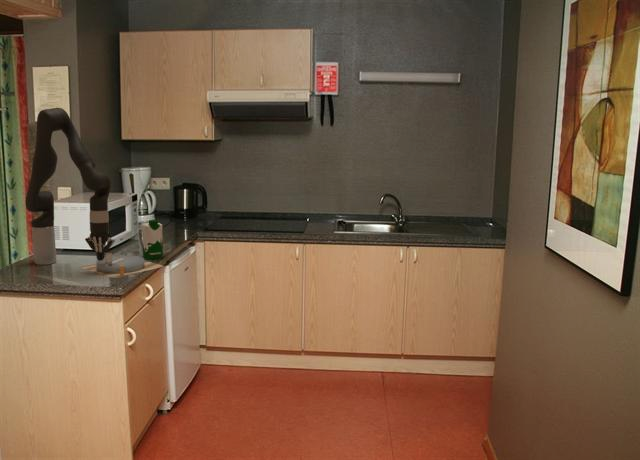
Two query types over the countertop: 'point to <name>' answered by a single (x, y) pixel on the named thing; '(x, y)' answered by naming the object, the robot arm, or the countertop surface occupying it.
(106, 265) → the cam dial
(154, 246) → the milk carton
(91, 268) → the birch board
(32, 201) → the robot arm
